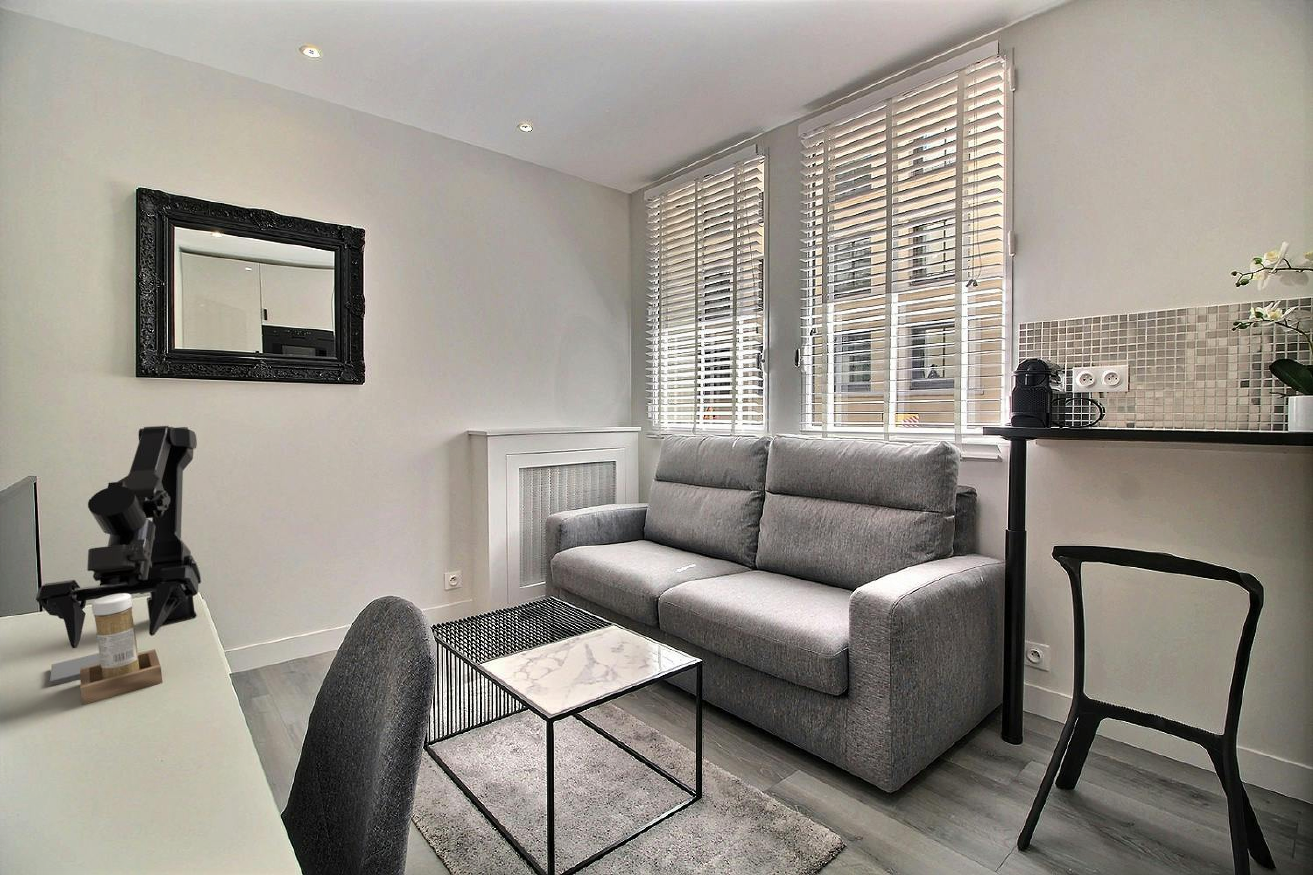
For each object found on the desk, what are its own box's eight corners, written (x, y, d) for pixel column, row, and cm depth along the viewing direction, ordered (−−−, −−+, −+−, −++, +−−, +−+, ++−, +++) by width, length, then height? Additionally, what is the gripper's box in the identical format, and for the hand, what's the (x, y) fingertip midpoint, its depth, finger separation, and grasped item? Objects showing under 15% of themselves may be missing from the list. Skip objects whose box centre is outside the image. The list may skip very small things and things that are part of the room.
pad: (132, 649, 108) (131, 644, 108) (135, 663, 103) (135, 659, 102) (52, 669, 102) (51, 664, 102) (50, 686, 96) (50, 681, 96)
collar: (156, 663, 102) (155, 648, 102) (162, 682, 96) (160, 666, 96) (82, 683, 96) (80, 667, 96) (82, 704, 90) (80, 687, 90)
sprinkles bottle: (141, 672, 99) (131, 590, 98) (141, 683, 96) (131, 597, 94) (102, 682, 96) (91, 597, 95) (101, 693, 93) (90, 605, 92)
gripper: (33, 531, 93) (4, 629, 85) (186, 516, 101) (175, 604, 92) (63, 569, 101) (40, 662, 92) (202, 552, 109) (194, 636, 100)
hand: (113, 640), depth 94 cm, fingers open, 9 cm apart
